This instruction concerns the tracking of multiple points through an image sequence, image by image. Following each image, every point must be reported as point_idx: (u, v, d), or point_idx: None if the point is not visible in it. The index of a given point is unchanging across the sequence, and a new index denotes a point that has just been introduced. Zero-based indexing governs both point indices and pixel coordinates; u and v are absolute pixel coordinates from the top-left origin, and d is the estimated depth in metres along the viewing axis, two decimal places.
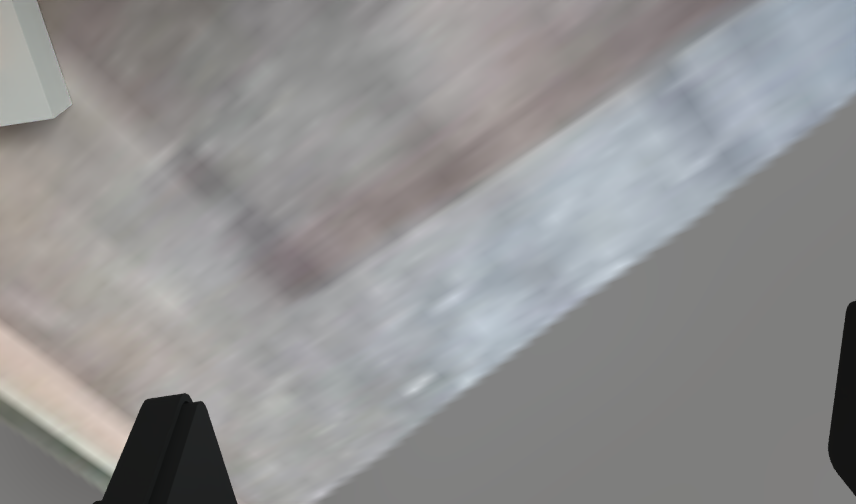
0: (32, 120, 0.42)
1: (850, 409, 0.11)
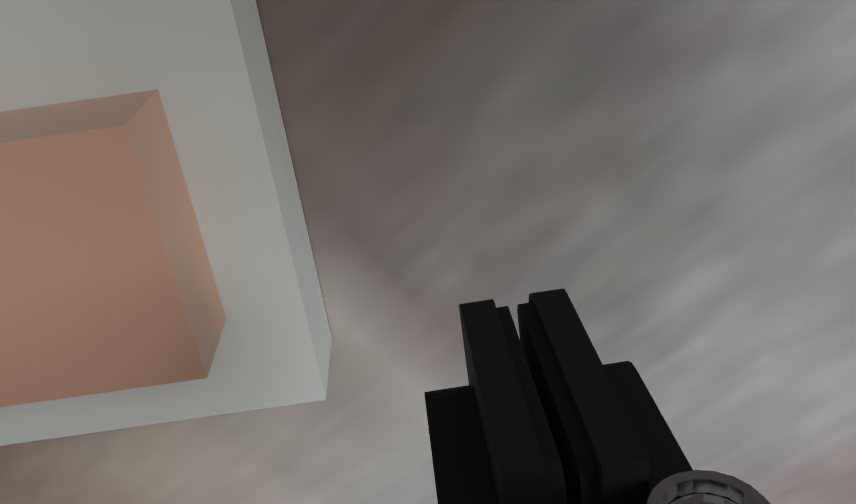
0: (283, 404, 0.21)
1: None
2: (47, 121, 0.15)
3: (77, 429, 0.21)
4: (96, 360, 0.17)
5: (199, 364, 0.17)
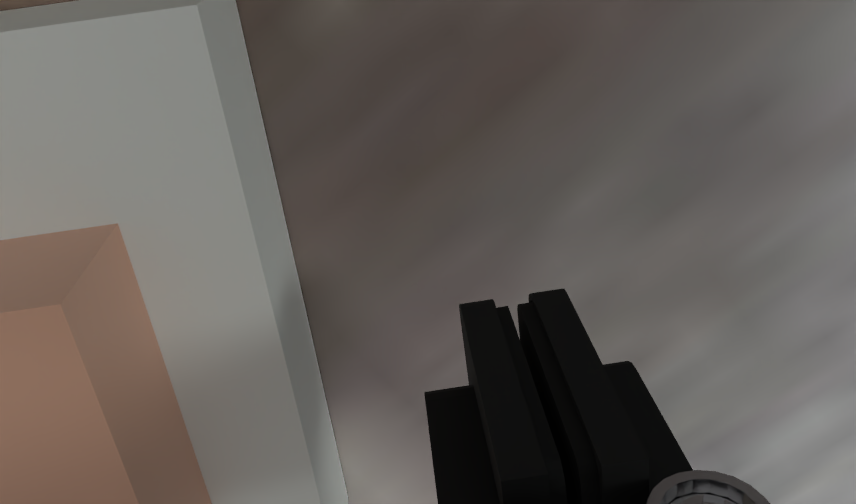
0: None
1: None
2: None
3: None
4: None
5: None
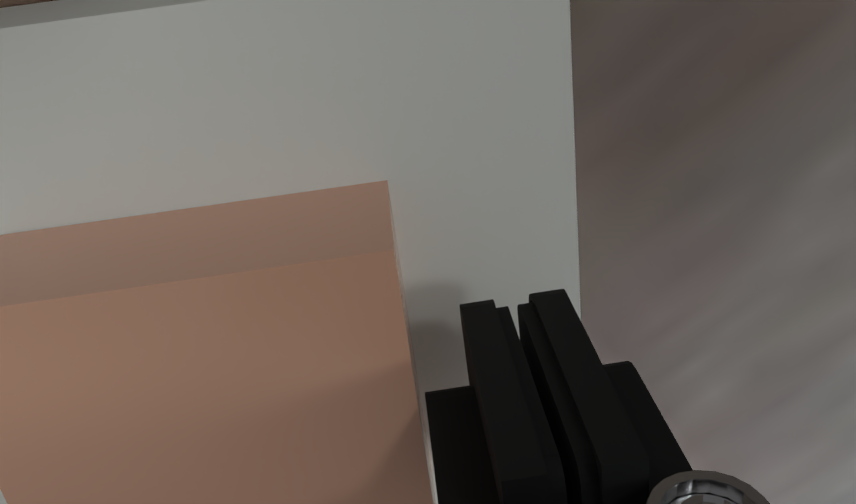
0: None
1: None
2: (254, 235, 0.11)
3: None
4: None
5: None
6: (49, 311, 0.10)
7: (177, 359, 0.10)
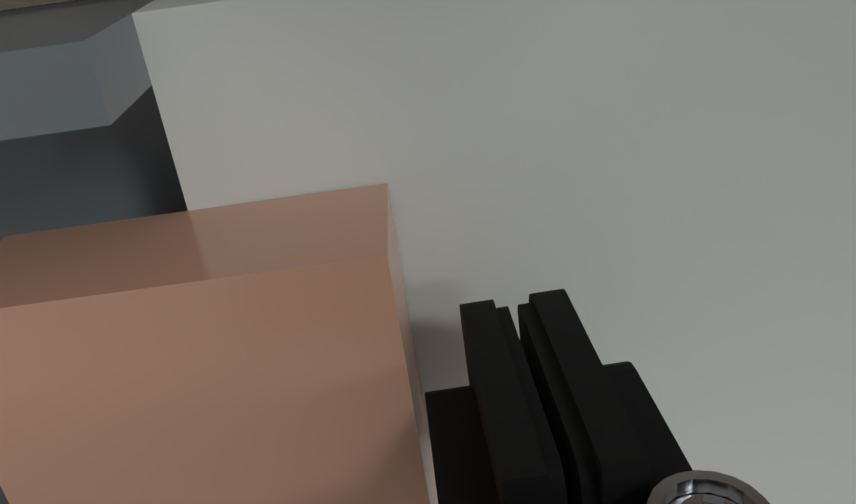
0: None
1: None
2: (251, 238, 0.11)
3: None
4: None
5: None
6: (46, 313, 0.10)
7: (172, 363, 0.10)
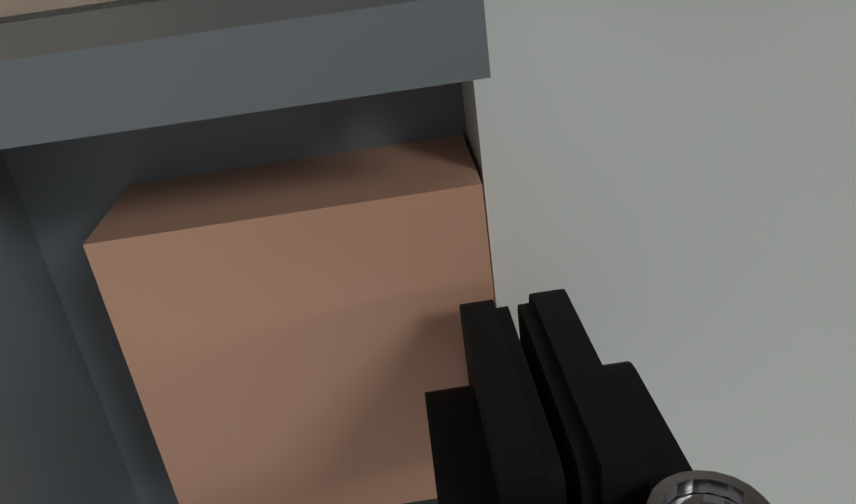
0: None
1: None
2: (356, 177, 0.12)
3: None
4: (386, 468, 0.14)
5: None
6: (193, 238, 0.11)
7: (296, 281, 0.12)
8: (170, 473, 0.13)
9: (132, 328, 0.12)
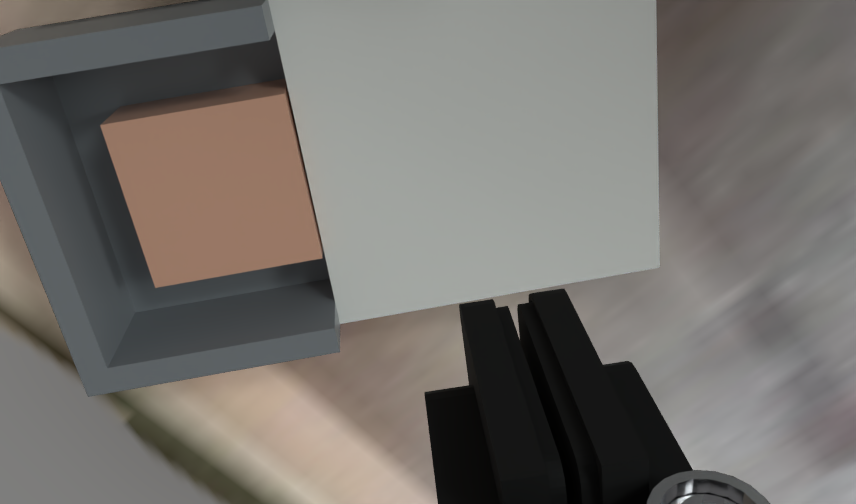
0: (630, 271, 0.29)
1: None
2: (230, 96, 0.26)
3: (486, 293, 0.29)
4: (254, 247, 0.27)
5: (317, 248, 0.27)
6: (151, 121, 0.25)
7: (201, 143, 0.25)
8: (143, 250, 0.27)
9: (123, 168, 0.25)
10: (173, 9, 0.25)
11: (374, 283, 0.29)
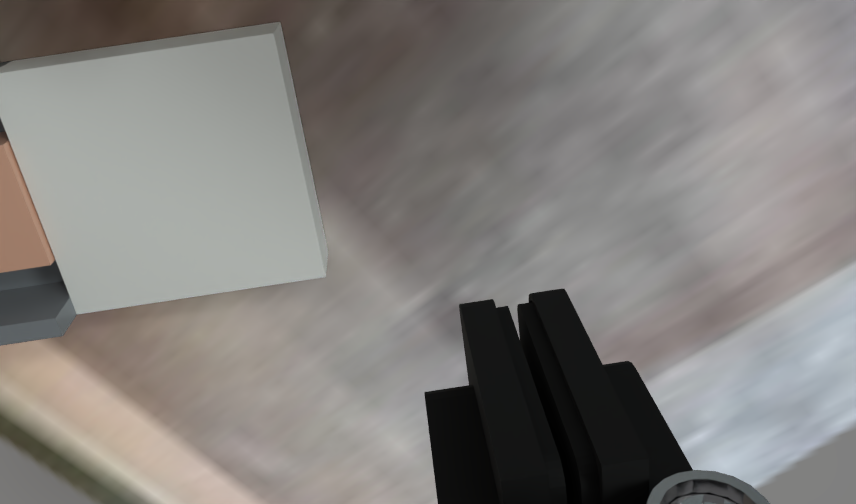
0: (302, 279, 0.38)
1: None
2: None
3: (189, 293, 0.38)
4: None
5: (46, 258, 0.36)
6: None
7: None
8: None
9: None
10: None
11: (99, 284, 0.37)
